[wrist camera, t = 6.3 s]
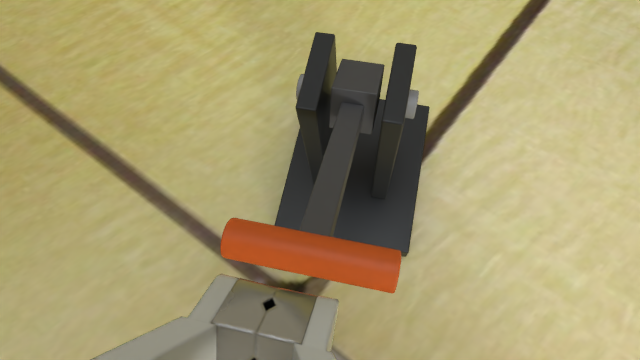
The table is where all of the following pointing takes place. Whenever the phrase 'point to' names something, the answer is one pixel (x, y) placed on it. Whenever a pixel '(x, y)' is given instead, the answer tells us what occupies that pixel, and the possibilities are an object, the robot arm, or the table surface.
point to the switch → (326, 201)
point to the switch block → (360, 153)
